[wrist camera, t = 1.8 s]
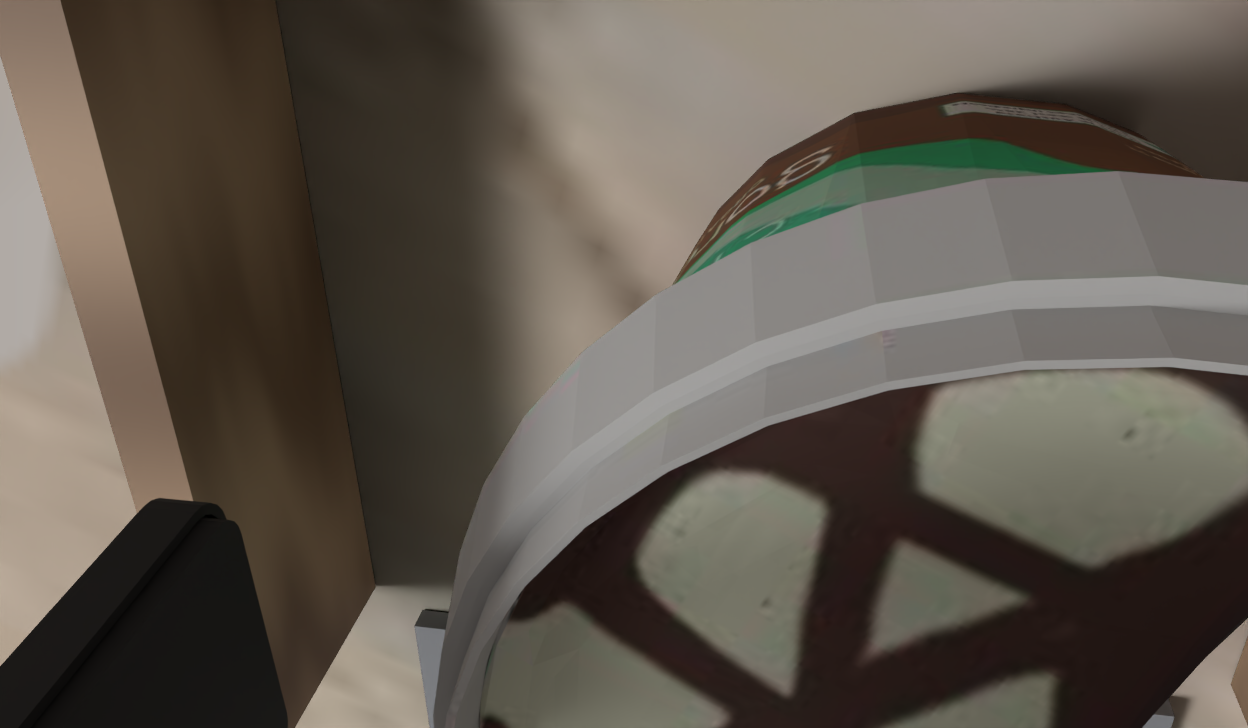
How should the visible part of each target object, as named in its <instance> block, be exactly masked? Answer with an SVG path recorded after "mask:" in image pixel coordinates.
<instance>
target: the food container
mask: <svg viewBox="0 0 1248 728" xmlns="http://www.w3.org/2000/svg"><path fill="white" fill-rule="evenodd" d="M1247 618H1248V182H1241V181H1229V180H1217V179H1206V178H1204V177H1203V176H1201V175H1200V174H1199V173H1197V172H1196V171H1194V170H1193V169H1191V168H1190V167H1188V166H1187V165H1185V164H1184V163H1182V162H1181V161H1179V160H1178V159H1176V158H1175V157H1173V156H1172V155H1170V154H1169V153H1167V152H1166V151H1164V150H1163V149H1161V148H1160V147H1158V146H1157V145H1155V144H1154V143H1152V142H1151V141H1149V140H1148V139H1146V138H1145V137H1143V136H1142V135H1140V134H1139V133H1136V132H1134V131H1131V130H1129V129H1126V128H1124V127H1121V126H1119V125H1116V124H1114V123H1111V122H1109V121H1106V120H1104V119H1101V118H1099V117H1096V116H1094V115H1091V114H1089V113H1086V112H1084V111H1081V110H1079V109H1076V108H1074V107H1071V106H1069V105H1067V104H1060V103H1051V102H1041V101H1031V100H1022V99H1012V98H1002V97H992V96H983V95H973V94H963V93H954V94H949V95H944V96H939V97H934V98H929V99H924V100H919V101H913V102H908V103H903V104H898V105H893V106H888V107H883V108H878V109H872V110H867V111H862V112H857V113H853V114H852V115H850V116H848V117H846V118H844V119H842V120H840V121H838V122H837V123H835V124H833V125H831V126H829V127H827V128H825V129H824V130H822V131H820V132H818V133H816V134H814V135H812V136H811V137H809V138H807V139H805V140H803V141H801V142H799V143H798V144H796V145H794V146H792V147H790V148H788V149H786V150H785V151H783V152H781V153H779V154H777V155H775V156H773V157H772V158H770V159H768V160H767V161H766V162H765V163H764V164H763V165H762V166H761V167H760V168H759V169H758V170H757V171H756V172H755V173H754V174H753V175H752V176H751V177H750V178H749V179H748V180H747V181H746V182H745V183H744V184H743V185H742V186H741V187H740V188H739V189H738V190H737V191H736V192H735V193H734V194H733V195H732V196H731V197H730V198H729V199H728V200H727V201H726V202H725V203H724V204H723V205H722V206H721V207H720V208H719V210H718V211H717V213H716V214H715V216H714V218H713V219H712V221H711V222H710V224H709V225H708V227H707V228H706V230H705V231H704V233H703V235H702V236H701V238H700V239H699V241H698V242H697V244H696V245H695V247H694V249H693V251H692V252H691V254H690V256H689V257H688V259H687V261H686V263H685V264H684V266H683V268H682V269H681V271H680V273H679V274H678V276H677V278H676V280H675V281H674V283H673V285H672V286H671V287H669V288H667V289H665V290H663V291H661V292H660V293H658V294H656V295H655V296H653V297H652V298H651V299H650V300H648V301H647V302H646V303H644V304H643V305H642V306H641V307H639V308H638V309H637V310H635V311H634V312H633V313H632V314H630V315H629V316H628V317H627V318H625V319H624V320H623V321H621V322H620V323H619V324H618V325H616V326H615V327H614V328H612V329H611V330H610V331H609V332H607V333H606V334H605V335H603V336H602V337H601V338H600V339H598V340H597V341H596V342H594V343H593V344H592V345H591V346H589V347H588V348H587V349H585V350H584V351H583V352H582V353H580V355H579V356H578V357H577V358H576V359H575V360H574V361H573V362H572V364H571V365H570V366H569V367H568V368H567V369H566V370H565V371H564V372H563V374H562V375H561V376H560V377H559V378H558V379H557V380H556V381H555V383H554V384H553V385H552V386H551V387H550V388H549V389H548V390H547V391H546V393H545V394H544V395H543V396H542V397H541V398H540V399H539V400H538V401H537V403H536V404H535V405H534V406H533V407H532V408H531V409H530V410H529V412H528V413H527V414H526V415H525V416H524V417H523V419H522V420H521V422H520V424H519V425H518V427H517V429H516V430H515V432H514V434H513V435H512V437H511V439H510V441H509V442H508V444H507V446H506V447H505V449H504V451H503V452H502V454H501V456H500V457H499V459H498V461H497V462H496V464H495V466H494V467H493V469H492V471H491V472H490V474H489V476H488V477H487V479H486V481H485V482H484V484H483V487H482V490H481V493H480V496H479V498H478V501H477V504H476V507H475V510H474V513H473V516H472V518H471V521H470V524H469V527H468V530H467V533H466V536H465V539H464V541H463V544H462V547H461V550H460V554H459V560H458V565H457V570H456V576H455V581H454V587H453V592H452V598H451V603H450V608H449V614H448V619H447V625H446V630H445V636H444V641H443V646H442V653H441V660H440V667H439V675H438V682H437V690H436V697H435V704H434V712H433V723H434V728H1143V726H1144V725H1145V724H1146V723H1147V722H1148V720H1149V719H1150V718H1151V717H1152V716H1153V715H1154V714H1155V713H1156V712H1157V710H1158V709H1159V708H1160V707H1161V706H1162V705H1163V704H1164V703H1165V702H1166V700H1167V699H1168V698H1169V697H1170V696H1171V695H1172V694H1173V693H1174V692H1175V691H1176V689H1177V688H1178V687H1179V686H1180V685H1181V684H1182V683H1183V682H1184V681H1185V679H1186V678H1187V677H1188V676H1189V675H1190V674H1191V673H1192V672H1193V671H1194V669H1195V668H1196V667H1197V666H1198V665H1199V664H1200V663H1201V662H1202V661H1203V660H1204V659H1205V657H1206V656H1208V655H1209V654H1210V653H1211V652H1212V651H1213V650H1214V649H1215V648H1216V647H1217V646H1218V645H1219V644H1220V643H1221V642H1223V641H1224V640H1225V639H1226V638H1227V637H1228V636H1229V635H1230V634H1231V633H1232V632H1233V631H1234V630H1235V629H1236V628H1238V627H1239V626H1240V625H1241V624H1242V623H1243V622H1244V621H1245V620H1246V619H1247Z"/></svg>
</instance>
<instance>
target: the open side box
mask: <svg viewBox="0 0 1248 728" xmlns="http://www.w3.org/2000/svg"><path fill="white" fill-rule="evenodd" d="M0 56H1V59H2V63H3V66H4V69H5V73H6V76H7V79H8V83H9V86H10V89H11V93H12V96H13V99H14V102H15V106H16V110H17V113H18V116H19V120H20V123H21V126H22V129H23V133H24V136H25V139H26V143H27V146H28V150H29V153H30V156H31V160H32V163H33V166H34V170H35V173H36V176H37V180H38V183H39V186H40V190H41V193H42V197H43V200H44V203H45V206H46V210H47V213H48V216H49V220H50V223H51V227H52V230H53V233H54V237H55V240H56V243H57V247H58V250H59V253H60V257H61V260H62V263H63V267H64V270H65V273H66V277H67V280H68V283H69V287H70V290H71V294H72V297H73V300H74V304H75V307H76V310H77V314H78V317H79V320H80V324H81V327H82V330H83V334H84V337H85V340H86V344H87V347H88V350H89V354H90V357H91V360H92V364H93V367H94V370H95V374H96V377H97V381H98V384H99V387H100V391H101V394H102V397H103V401H104V404H105V407H106V411H107V414H108V417H109V421H110V424H111V427H112V431H113V434H114V437H115V441H116V444H117V447H118V451H119V454H120V457H121V461H122V464H123V467H124V471H125V474H126V478H127V481H128V484H129V488H130V491H131V494H132V498H133V501H134V504H135V508H136V511H137V513H138V512H139V511H140V510H141V509H142V508H143V507H144V506H145V505H146V504H147V503H149V502H150V501H151V500H154V499H157V498H166V499H176V500H187V501H197V502H208V503H213V504H217V505H218V506H219V507H220V508H221V509H222V510H223V512H224V514H225V516H226V519H227V520H232V521H235V522H236V523H237V525H238V526H239V528H240V531H241V534H242V538H243V542H244V545H245V549H246V553H247V557H248V561H249V565H250V569H251V573H252V577H253V581H254V585H255V589H256V593H257V597H258V600H259V604H260V608H261V612H262V616H263V620H264V624H265V628H266V632H267V636H268V640H269V644H270V648H271V652H272V655H273V659H274V663H275V667H276V671H277V675H278V679H279V683H280V687H281V691H282V695H283V699H284V703H285V707H286V710H287V716H288V728H295V726H296V725H297V723H298V721H299V719H300V718H301V716H302V714H303V712H304V711H305V709H306V707H307V705H308V704H309V702H310V700H311V698H312V697H313V695H314V693H315V692H316V690H317V688H318V686H319V685H320V683H321V681H322V679H323V678H324V676H325V674H326V672H327V671H328V669H329V667H330V665H331V664H332V662H333V660H334V658H335V657H336V655H337V653H338V652H339V650H340V648H341V646H342V645H343V643H344V641H345V639H346V638H347V636H348V634H349V632H350V631H351V629H352V627H353V625H354V624H355V622H356V620H357V618H358V617H359V615H360V613H361V612H362V610H363V608H364V606H365V605H366V603H367V601H368V599H369V598H370V596H371V594H372V592H373V591H374V589H375V581H374V575H373V569H372V563H371V557H370V551H369V546H368V540H367V534H366V528H365V522H364V516H363V511H362V505H361V499H360V493H359V487H358V481H357V475H356V470H355V464H354V458H353V452H352V446H351V440H350V435H349V429H348V423H347V417H346V411H345V405H344V399H343V394H342V388H341V382H340V376H339V370H338V364H337V359H336V353H335V347H334V341H333V335H332V329H331V323H330V318H329V312H328V306H327V300H326V294H325V288H324V282H323V277H322V271H321V265H320V259H319V253H318V247H317V242H316V236H315V230H314V224H313V218H312V212H311V206H310V201H309V195H308V189H307V183H306V177H305V171H304V166H303V160H302V154H301V148H300V142H299V136H298V130H297V125H296V119H295V113H294V107H293V101H292V95H291V90H290V84H289V78H288V72H287V66H286V60H285V54H284V49H283V43H282V37H281V31H280V25H279V19H278V14H277V8H276V2H275V0H0ZM1231 686H1232V688H1233V691H1234V693H1235V695H1236V698H1237V700H1238V703H1239V705H1240V708H1241V710H1242V712H1243V715H1244V717H1245V720H1246V722H1247V724H1248V637H1247V640H1246V643H1245V646H1244V649H1243V651H1242V654H1241V657H1240V660H1239V663H1238V665H1237V668H1236V671H1235V674H1234V677H1233V680H1232V682H1231Z"/></svg>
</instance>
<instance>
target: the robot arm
mask: <svg viewBox="0 0 1248 728" xmlns="http://www.w3.org/2000/svg"><path fill="white" fill-rule="evenodd" d="M0 728H288V716H287V710H286V707H285V703H284V699H283V695H282V691H281V687H280V683H279V679H278V675H277V671H276V667H275V663H274V659H273V655H272V652H271V648H270V644H269V640H268V636H267V632H266V628H265V624H264V620H263V616H262V612H261V608H260V604H259V600H258V597H257V593H256V589H255V585H254V581H253V577H252V573H251V569H250V565H249V561H248V557H247V553H246V549H245V545H244V542H243V538H242V534H241V531H240V528H239V526H238V525H237V523H236V522H235V521H232V520H227V519H226V516H225V514H224V512H223V510H222V509H221V508H220V507H219V506H218V505H217V504H213V503H208V502H197V501H187V500H176V499H166V498H157V499H154V500H151V501H150V502H149V503H147V504H146V505H145V506H144V507H143V508H142V509H141V510H140V511H139V512H138V513H137V514H136V515H135V517H134V518H133V519H132V520H131V521H130V522H129V523H128V524H127V525H126V527H125V528H124V529H123V530H122V531H121V532H120V533H119V534H118V536H117V537H116V538H115V539H114V540H113V541H112V542H111V543H110V544H109V546H108V547H107V548H106V549H105V550H104V551H103V552H102V553H101V554H100V556H99V557H98V558H97V559H96V560H95V561H94V562H93V563H92V565H91V566H90V567H89V568H88V569H87V570H86V571H85V572H84V573H83V575H82V576H81V577H80V578H79V579H78V580H77V581H76V582H75V584H74V585H73V586H72V587H71V588H70V589H69V590H68V591H67V592H66V594H65V595H64V596H63V597H62V598H61V599H60V600H59V601H58V603H57V604H56V605H55V606H54V607H53V608H52V609H51V610H50V611H49V613H48V614H47V615H46V616H45V617H44V618H43V619H42V620H41V621H40V623H39V624H38V625H37V626H36V627H35V628H34V629H33V630H32V632H31V633H30V634H29V635H28V636H27V637H26V638H25V639H24V640H23V642H22V643H21V644H20V645H19V646H18V647H17V648H16V649H15V651H14V652H13V653H12V654H11V655H10V656H9V657H8V658H7V659H6V661H5V662H4V663H3V664H2V665H1V666H0Z"/></svg>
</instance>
